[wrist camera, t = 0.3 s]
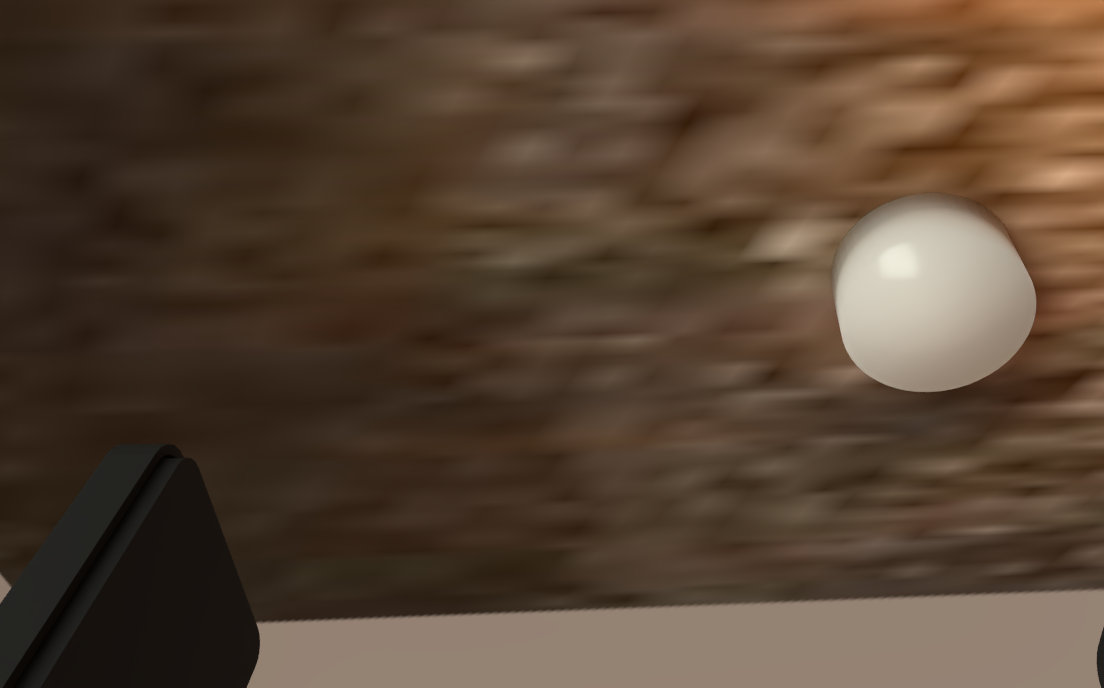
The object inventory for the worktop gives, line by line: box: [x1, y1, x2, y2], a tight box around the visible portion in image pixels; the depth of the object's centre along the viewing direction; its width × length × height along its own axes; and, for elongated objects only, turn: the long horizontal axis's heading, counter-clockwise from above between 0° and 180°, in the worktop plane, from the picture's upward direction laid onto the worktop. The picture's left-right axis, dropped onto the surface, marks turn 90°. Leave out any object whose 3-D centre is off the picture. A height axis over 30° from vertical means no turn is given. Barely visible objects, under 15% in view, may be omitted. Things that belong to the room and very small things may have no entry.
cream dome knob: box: [831, 193, 1036, 392], centre depth 46 cm, size 8×8×4 cm
